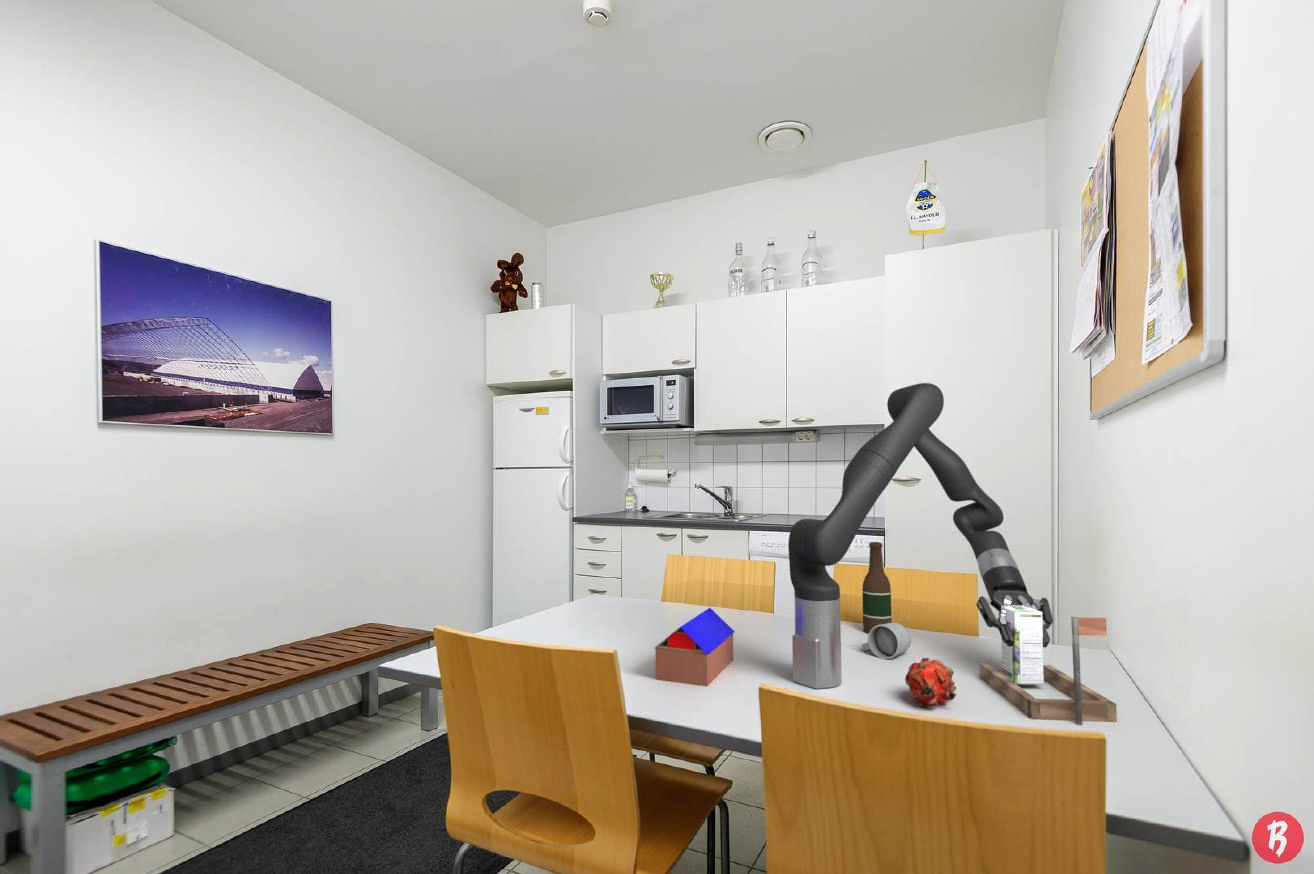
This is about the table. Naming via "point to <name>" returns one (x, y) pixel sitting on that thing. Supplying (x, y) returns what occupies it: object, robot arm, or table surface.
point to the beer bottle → (876, 591)
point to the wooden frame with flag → (1059, 685)
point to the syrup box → (1023, 646)
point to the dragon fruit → (931, 682)
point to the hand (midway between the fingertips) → (1028, 644)
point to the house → (696, 651)
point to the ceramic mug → (888, 640)
